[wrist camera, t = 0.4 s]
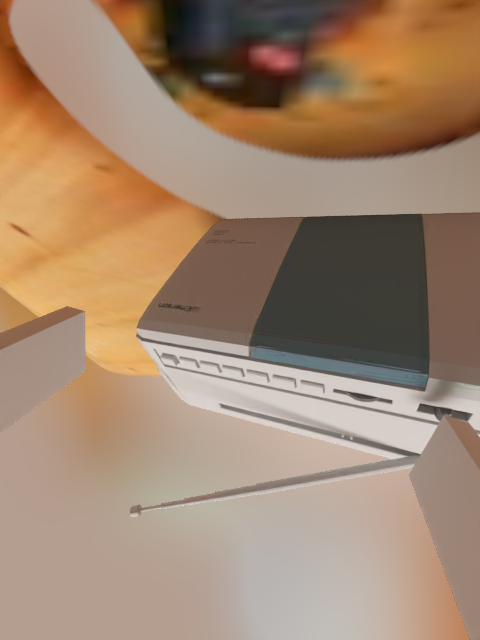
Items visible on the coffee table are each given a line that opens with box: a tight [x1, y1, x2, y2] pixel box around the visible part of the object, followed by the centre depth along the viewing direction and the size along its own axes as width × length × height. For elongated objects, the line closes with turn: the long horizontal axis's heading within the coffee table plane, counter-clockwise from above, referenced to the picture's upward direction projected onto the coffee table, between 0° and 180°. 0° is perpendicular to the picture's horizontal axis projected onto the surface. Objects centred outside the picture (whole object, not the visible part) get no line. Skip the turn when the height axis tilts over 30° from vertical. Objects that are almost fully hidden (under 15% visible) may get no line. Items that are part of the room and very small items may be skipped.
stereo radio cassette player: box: [130, 213, 480, 517], centre depth 16 cm, size 21×8×20 cm, turn 103°
